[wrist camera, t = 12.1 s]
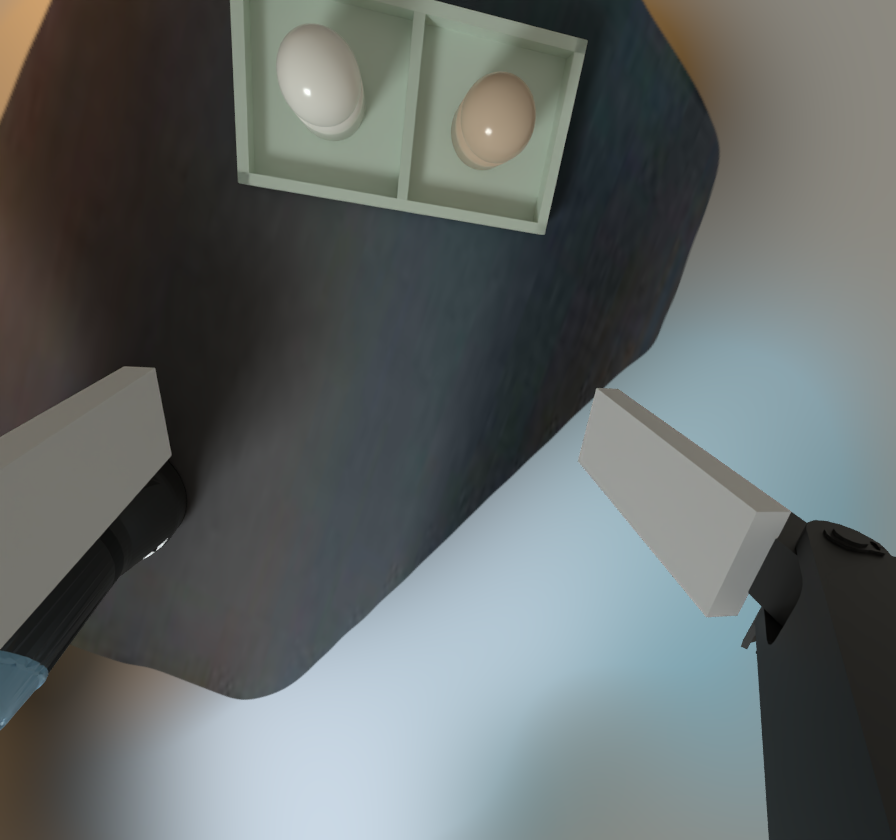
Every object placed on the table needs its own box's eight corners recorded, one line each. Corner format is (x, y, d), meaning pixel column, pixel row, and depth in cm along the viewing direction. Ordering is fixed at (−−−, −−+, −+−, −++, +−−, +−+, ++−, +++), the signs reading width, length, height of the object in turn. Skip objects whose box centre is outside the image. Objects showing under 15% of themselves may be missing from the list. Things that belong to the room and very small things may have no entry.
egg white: (294, 135, 32) (268, 109, 26) (293, 49, 30) (263, -3, 24) (364, 146, 33) (356, 124, 26) (367, 63, 31) (360, 16, 24)
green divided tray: (247, 184, 34) (238, 182, 32) (239, -34, 29) (227, -54, 27) (535, 233, 38) (544, 234, 36) (574, 52, 33) (587, 40, 31)
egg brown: (446, 164, 35) (460, 150, 28) (456, 85, 32) (474, 50, 26) (507, 175, 36) (536, 165, 29) (521, 100, 33) (555, 70, 27)
